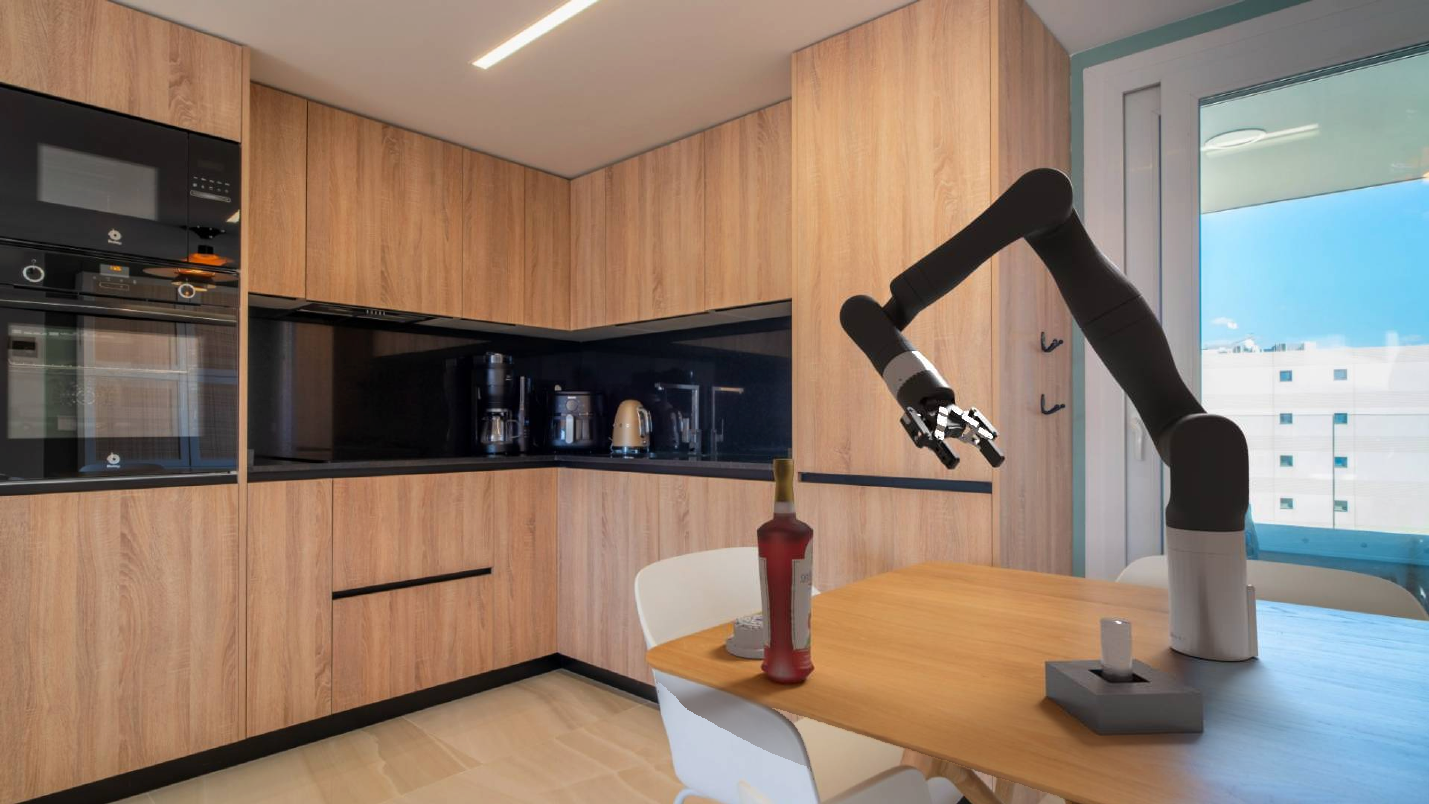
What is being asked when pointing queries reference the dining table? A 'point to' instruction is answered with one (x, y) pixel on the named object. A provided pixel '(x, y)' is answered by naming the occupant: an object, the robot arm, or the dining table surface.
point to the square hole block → (1124, 699)
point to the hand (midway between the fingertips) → (978, 464)
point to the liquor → (786, 584)
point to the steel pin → (1116, 650)
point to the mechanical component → (747, 637)
